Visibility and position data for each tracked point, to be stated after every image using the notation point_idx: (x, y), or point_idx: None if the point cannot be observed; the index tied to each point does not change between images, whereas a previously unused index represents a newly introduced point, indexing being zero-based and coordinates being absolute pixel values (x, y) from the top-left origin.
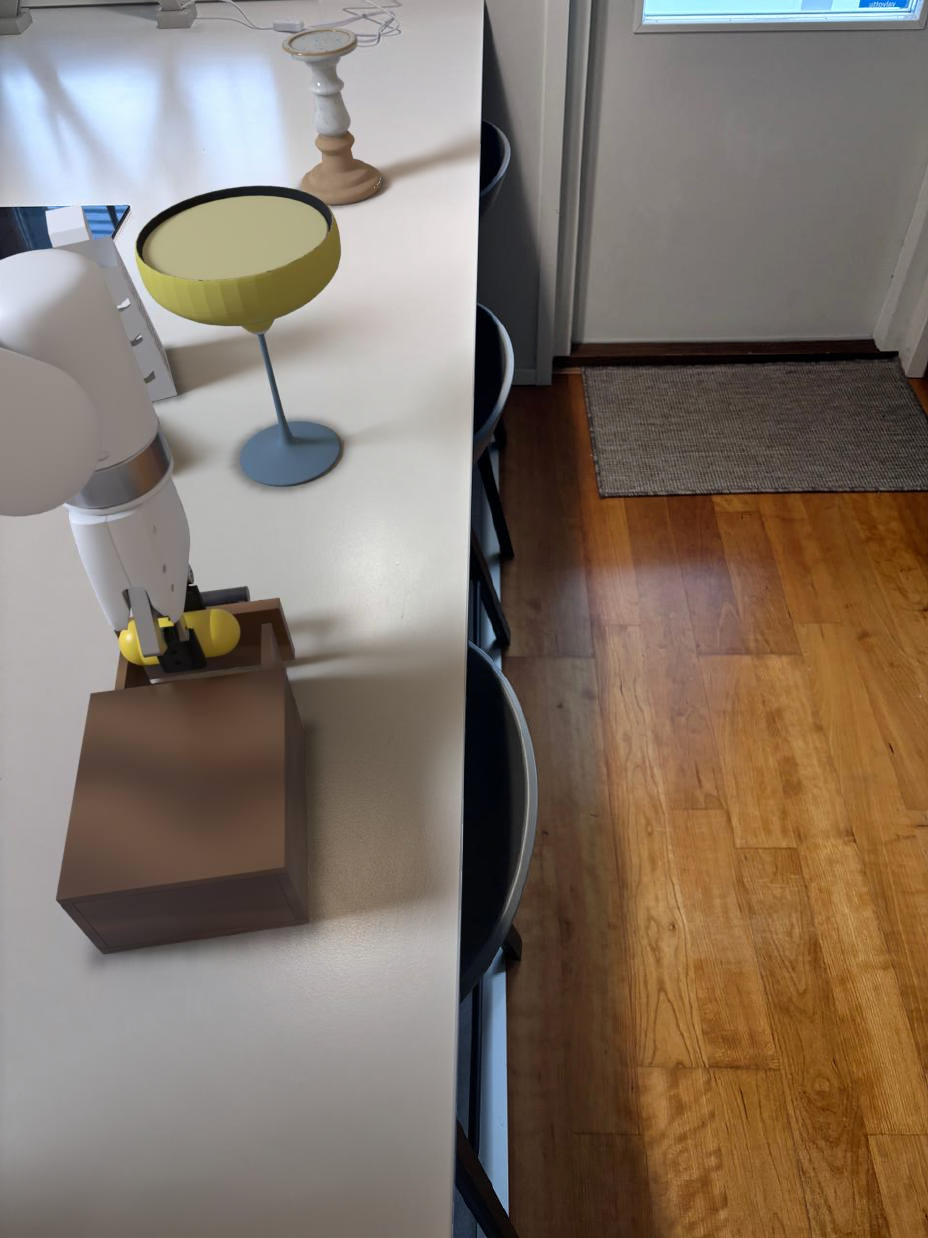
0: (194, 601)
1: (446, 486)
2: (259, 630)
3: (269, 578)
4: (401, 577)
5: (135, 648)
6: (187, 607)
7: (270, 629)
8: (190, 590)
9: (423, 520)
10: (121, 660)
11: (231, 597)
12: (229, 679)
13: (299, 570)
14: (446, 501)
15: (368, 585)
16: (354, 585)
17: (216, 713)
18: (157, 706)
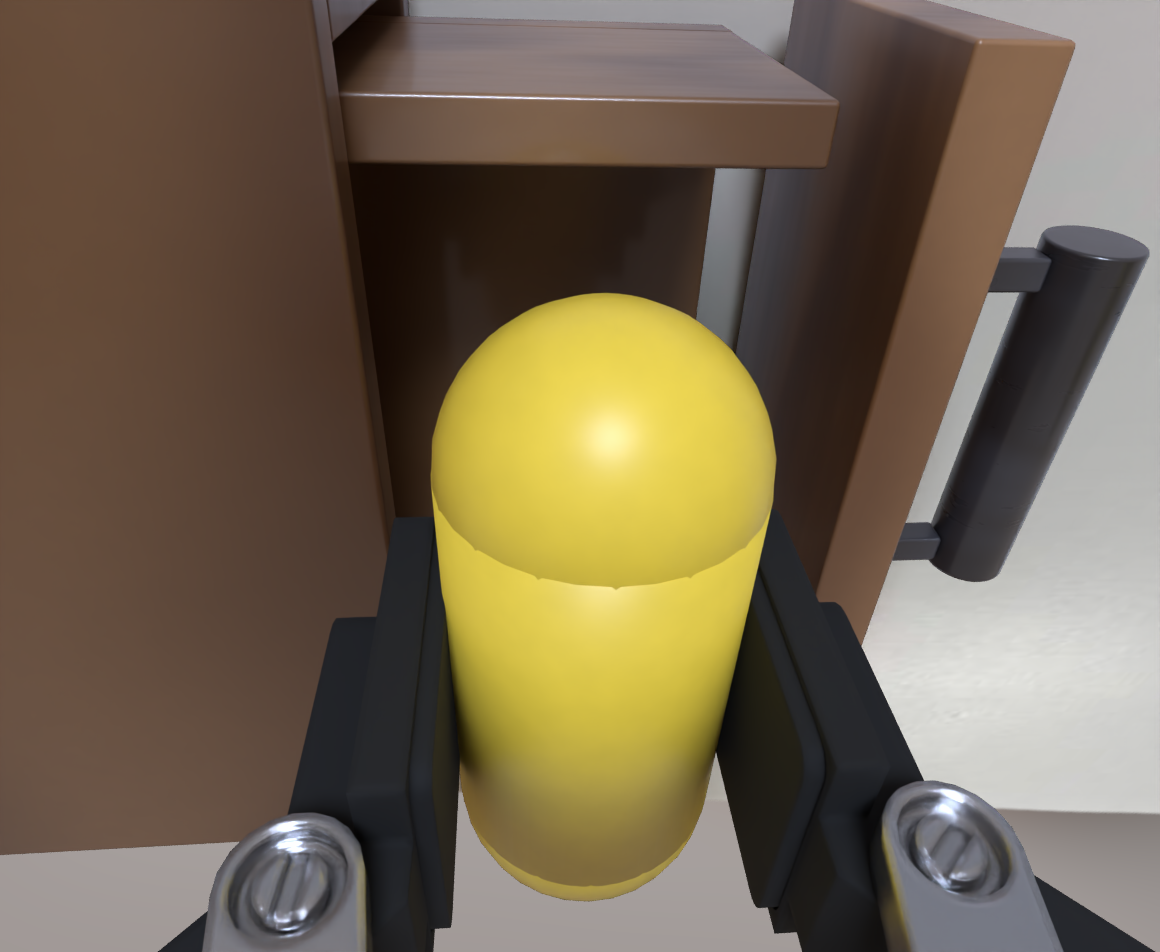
0: (742, 829)
1: (1145, 791)
2: None
3: (1106, 442)
4: (908, 721)
5: (456, 514)
6: (741, 755)
7: None
8: (784, 911)
9: (1068, 756)
10: (677, 123)
11: (968, 527)
12: None
13: (1083, 520)
14: (1097, 790)
15: (921, 665)
16: (938, 639)
17: (179, 674)
18: (198, 444)
